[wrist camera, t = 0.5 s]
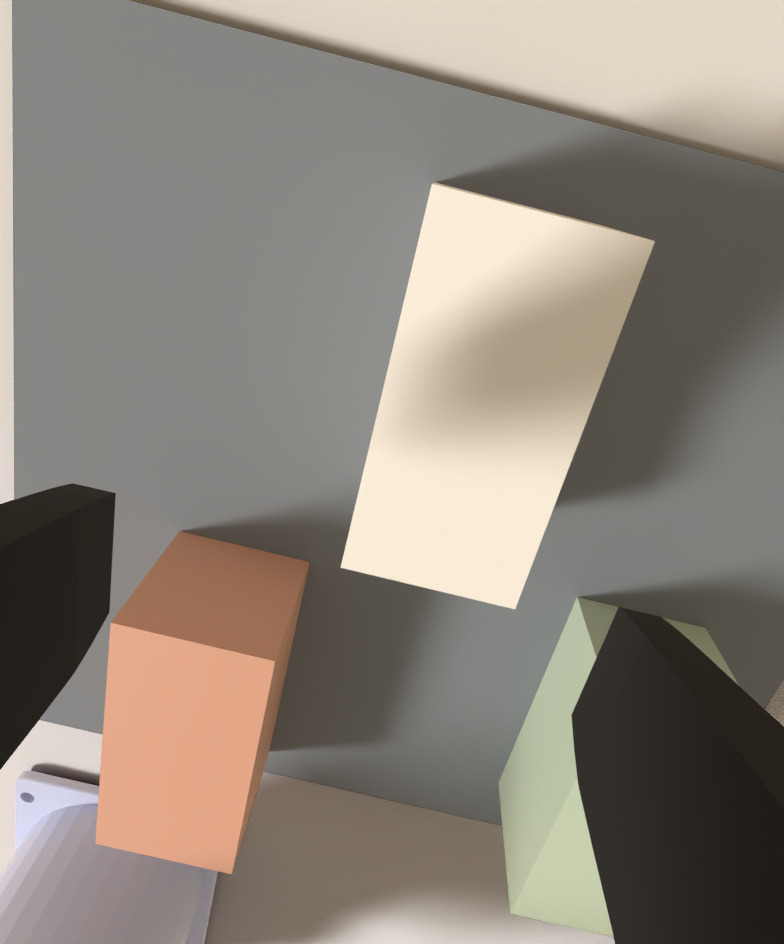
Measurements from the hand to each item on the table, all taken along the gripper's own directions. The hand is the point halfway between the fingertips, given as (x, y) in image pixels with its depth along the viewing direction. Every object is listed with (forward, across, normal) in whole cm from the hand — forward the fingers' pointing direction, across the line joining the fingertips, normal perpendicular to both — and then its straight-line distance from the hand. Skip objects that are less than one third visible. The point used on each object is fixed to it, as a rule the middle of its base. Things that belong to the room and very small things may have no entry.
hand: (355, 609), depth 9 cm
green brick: (+9, -8, +8) cm, 15 cm away
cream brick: (+9, -2, -2) cm, 9 cm away
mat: (+10, -2, +3) cm, 10 cm away
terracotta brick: (+9, +4, +9) cm, 14 cm away
